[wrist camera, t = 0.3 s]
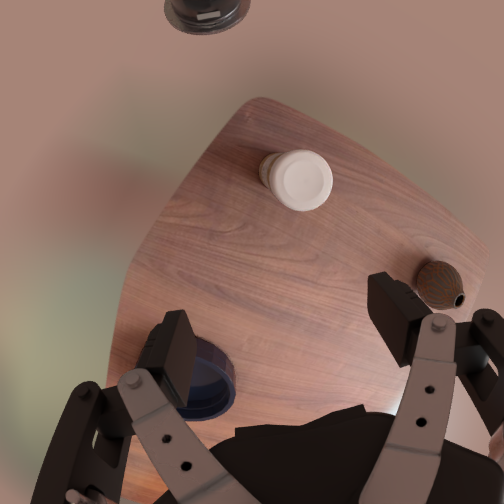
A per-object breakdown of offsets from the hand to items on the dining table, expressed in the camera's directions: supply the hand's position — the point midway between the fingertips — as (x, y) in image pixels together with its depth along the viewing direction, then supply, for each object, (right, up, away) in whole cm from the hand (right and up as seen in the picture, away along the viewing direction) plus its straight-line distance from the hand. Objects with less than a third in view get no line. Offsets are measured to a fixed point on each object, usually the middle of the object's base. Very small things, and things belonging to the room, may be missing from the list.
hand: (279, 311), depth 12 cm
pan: (-12, -17, +29) cm, 36 cm away
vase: (+26, -1, +26) cm, 37 cm away
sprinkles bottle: (+2, +12, +20) cm, 24 cm away
